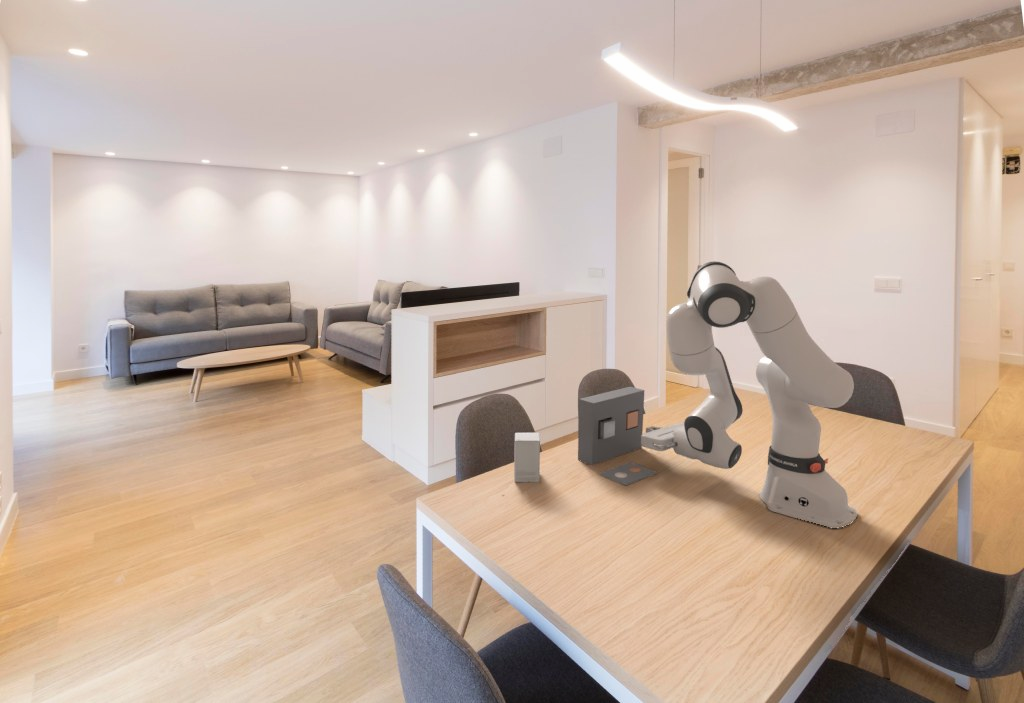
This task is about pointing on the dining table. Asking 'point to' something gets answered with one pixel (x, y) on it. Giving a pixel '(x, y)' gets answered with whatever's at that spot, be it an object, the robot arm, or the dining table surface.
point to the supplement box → (527, 457)
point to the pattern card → (627, 473)
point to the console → (616, 409)
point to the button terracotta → (632, 419)
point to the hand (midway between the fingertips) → (648, 429)
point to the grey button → (606, 428)
